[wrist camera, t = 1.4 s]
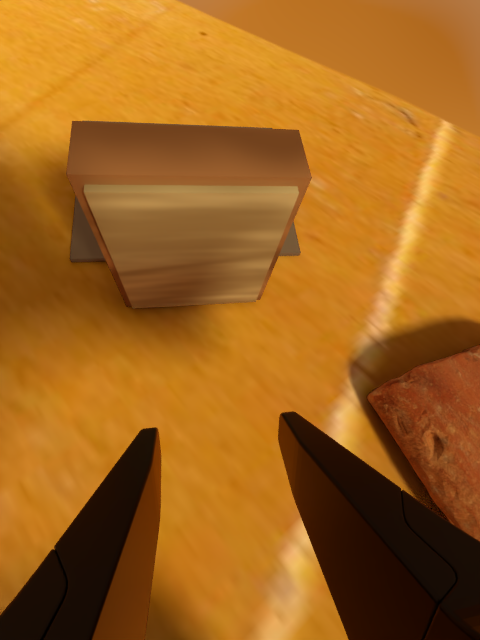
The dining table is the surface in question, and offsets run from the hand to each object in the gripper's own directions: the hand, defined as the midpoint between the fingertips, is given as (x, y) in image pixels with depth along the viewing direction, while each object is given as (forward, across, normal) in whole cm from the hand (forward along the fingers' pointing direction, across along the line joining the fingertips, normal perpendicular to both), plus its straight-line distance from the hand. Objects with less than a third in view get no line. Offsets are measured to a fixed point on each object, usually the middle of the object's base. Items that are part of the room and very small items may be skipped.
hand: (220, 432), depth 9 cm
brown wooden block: (+17, 0, +1) cm, 17 cm away
